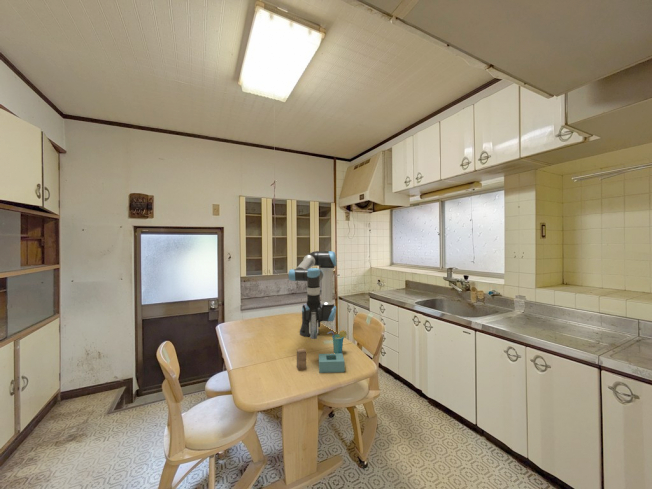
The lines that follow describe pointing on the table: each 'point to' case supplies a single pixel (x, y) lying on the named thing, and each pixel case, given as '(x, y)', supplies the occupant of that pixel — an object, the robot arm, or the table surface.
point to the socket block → (331, 363)
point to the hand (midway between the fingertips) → (313, 332)
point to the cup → (338, 341)
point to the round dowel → (313, 325)
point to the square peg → (301, 359)
